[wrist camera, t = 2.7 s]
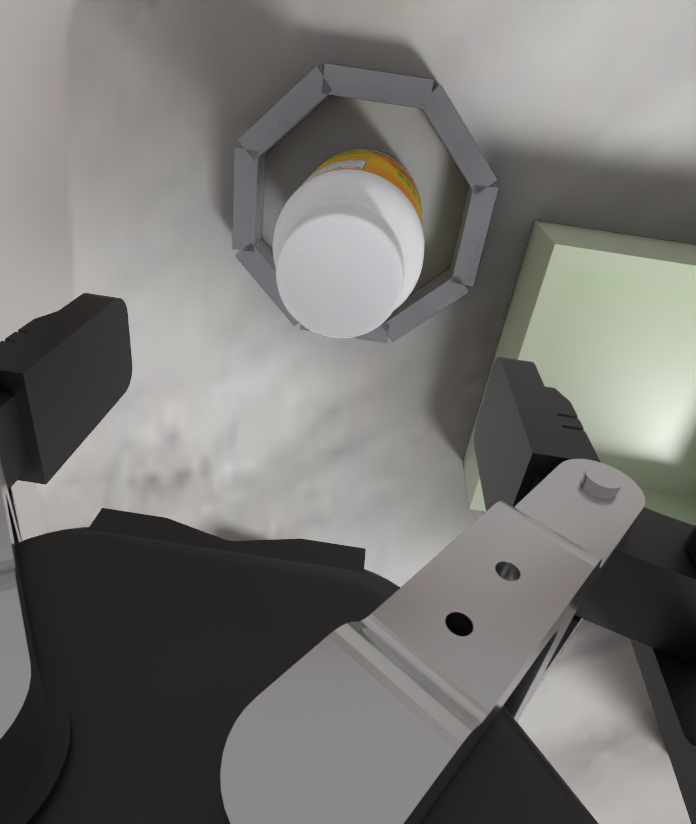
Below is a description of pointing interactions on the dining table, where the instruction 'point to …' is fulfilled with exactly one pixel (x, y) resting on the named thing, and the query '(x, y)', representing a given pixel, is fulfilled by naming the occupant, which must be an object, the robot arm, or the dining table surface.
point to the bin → (612, 352)
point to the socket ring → (385, 91)
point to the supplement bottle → (349, 244)
